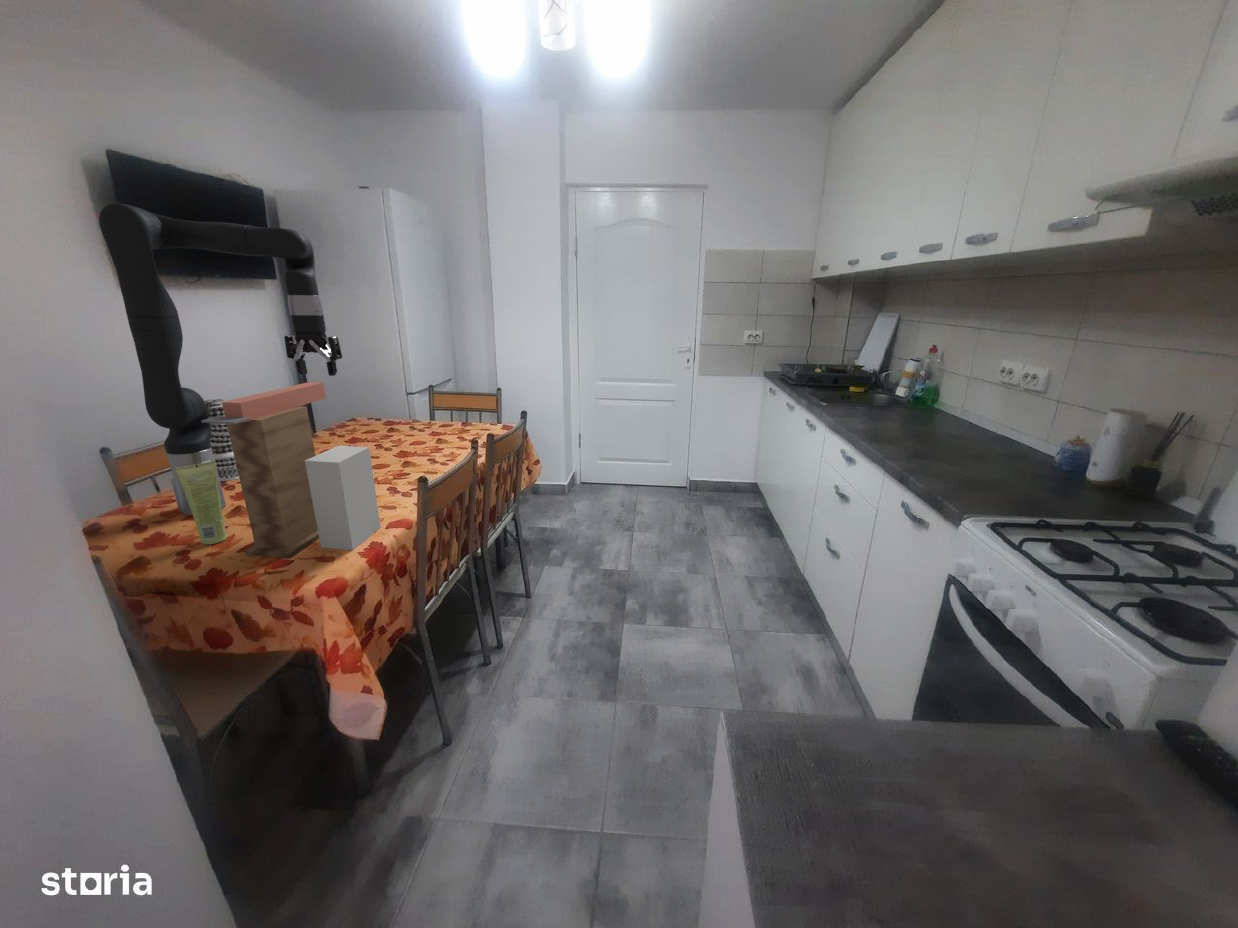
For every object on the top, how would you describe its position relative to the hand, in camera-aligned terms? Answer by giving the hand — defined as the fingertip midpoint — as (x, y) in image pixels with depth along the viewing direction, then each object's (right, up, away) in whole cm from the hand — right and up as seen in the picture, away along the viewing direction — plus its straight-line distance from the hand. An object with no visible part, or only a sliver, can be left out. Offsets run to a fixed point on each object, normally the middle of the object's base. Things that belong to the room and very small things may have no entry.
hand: (318, 374), depth 134 cm
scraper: (+4, -12, -22) cm, 26 cm away
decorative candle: (-44, -29, +25) cm, 58 cm away
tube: (-15, -43, -15) cm, 48 cm away
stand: (+3, -43, -14) cm, 45 cm away
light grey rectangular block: (+16, -43, -12) cm, 47 cm away
